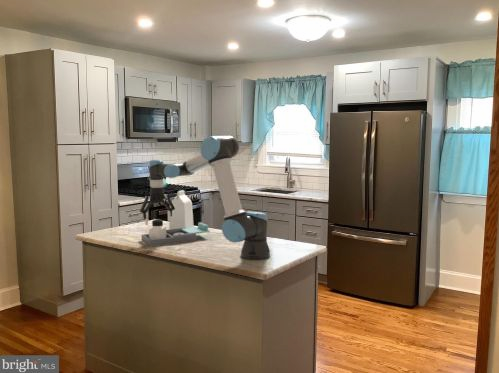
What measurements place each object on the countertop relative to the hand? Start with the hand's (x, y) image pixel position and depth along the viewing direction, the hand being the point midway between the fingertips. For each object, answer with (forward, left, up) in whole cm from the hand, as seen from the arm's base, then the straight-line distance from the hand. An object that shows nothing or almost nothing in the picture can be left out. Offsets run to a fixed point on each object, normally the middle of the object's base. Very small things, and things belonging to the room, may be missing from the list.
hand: (158, 223), depth 262 cm
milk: (+20, -23, -11) cm, 32 cm away
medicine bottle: (0, 0, -10) cm, 10 cm away
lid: (0, -24, -7) cm, 25 cm away
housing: (0, -7, -11) cm, 13 cm away
